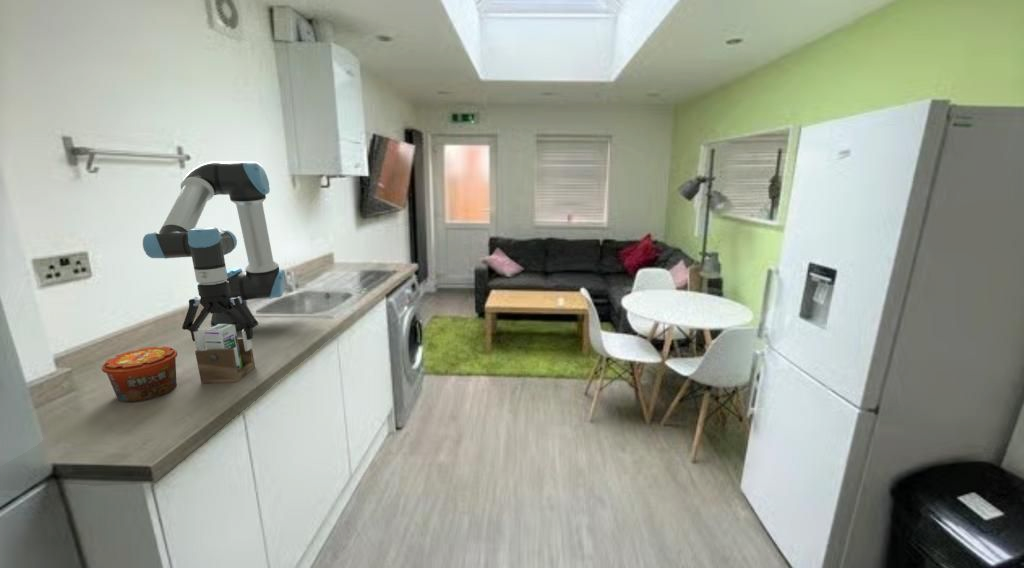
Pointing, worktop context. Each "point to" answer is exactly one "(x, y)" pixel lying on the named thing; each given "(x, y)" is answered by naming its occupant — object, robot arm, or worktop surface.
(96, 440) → the worktop surface
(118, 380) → the food container
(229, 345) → the syrup box
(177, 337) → the worktop surface
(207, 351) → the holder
